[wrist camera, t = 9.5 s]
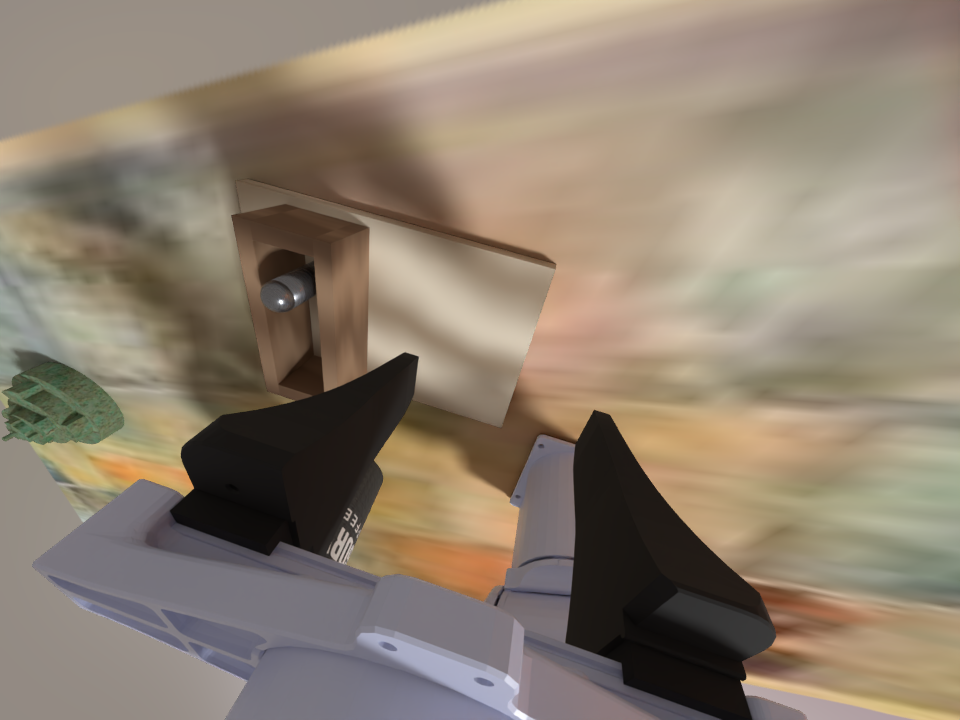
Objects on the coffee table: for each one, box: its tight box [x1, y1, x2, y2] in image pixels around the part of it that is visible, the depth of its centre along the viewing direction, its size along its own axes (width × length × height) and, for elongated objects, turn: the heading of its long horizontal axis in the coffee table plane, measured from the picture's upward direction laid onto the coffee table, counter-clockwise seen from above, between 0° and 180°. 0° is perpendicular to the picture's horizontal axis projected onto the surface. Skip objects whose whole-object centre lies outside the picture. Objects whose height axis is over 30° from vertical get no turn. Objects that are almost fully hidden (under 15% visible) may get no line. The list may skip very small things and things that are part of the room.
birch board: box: [235, 179, 556, 428], centre depth 24 cm, size 13×20×1 cm, turn 78°
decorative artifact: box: [2, 362, 124, 445], centre depth 37 cm, size 10×7×10 cm
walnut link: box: [231, 204, 370, 401], centre depth 22 cm, size 12×6×4 cm, turn 168°
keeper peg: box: [260, 261, 317, 313], centre depth 20 cm, size 2×2×6 cm
